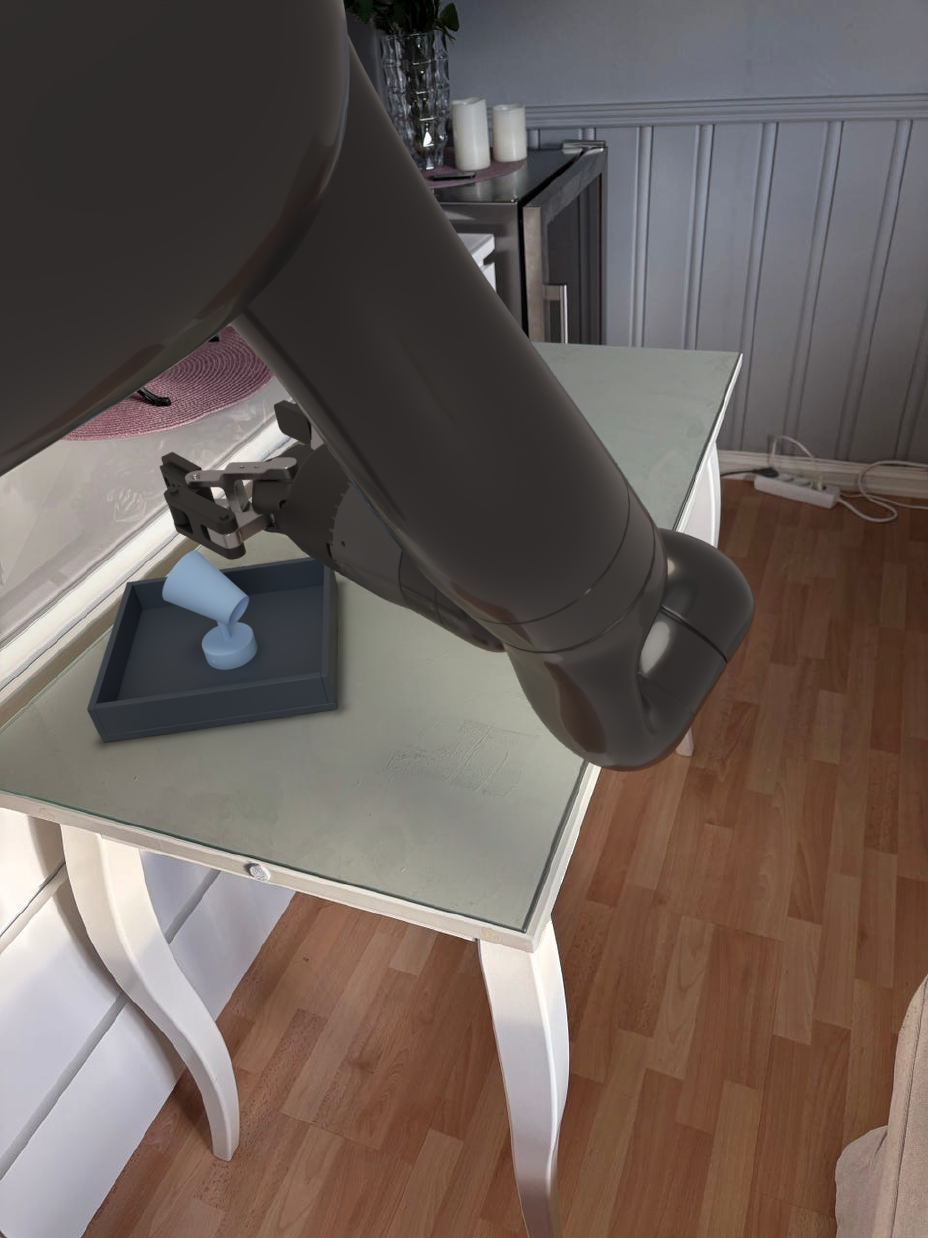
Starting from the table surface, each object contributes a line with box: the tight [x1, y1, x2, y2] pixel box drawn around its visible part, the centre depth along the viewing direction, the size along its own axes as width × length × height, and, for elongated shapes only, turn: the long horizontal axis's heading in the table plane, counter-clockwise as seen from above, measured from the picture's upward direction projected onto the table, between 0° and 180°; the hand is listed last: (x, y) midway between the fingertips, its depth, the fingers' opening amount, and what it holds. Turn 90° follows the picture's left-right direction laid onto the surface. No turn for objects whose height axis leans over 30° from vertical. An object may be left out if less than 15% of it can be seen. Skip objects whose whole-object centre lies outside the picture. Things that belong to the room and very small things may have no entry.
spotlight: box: [162, 549, 258, 670], centre depth 77 cm, size 5×10×7 cm
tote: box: [86, 556, 339, 743], centre depth 80 cm, size 19×17×4 cm
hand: (226, 440), depth 59 cm, fingers open, 8 cm apart
